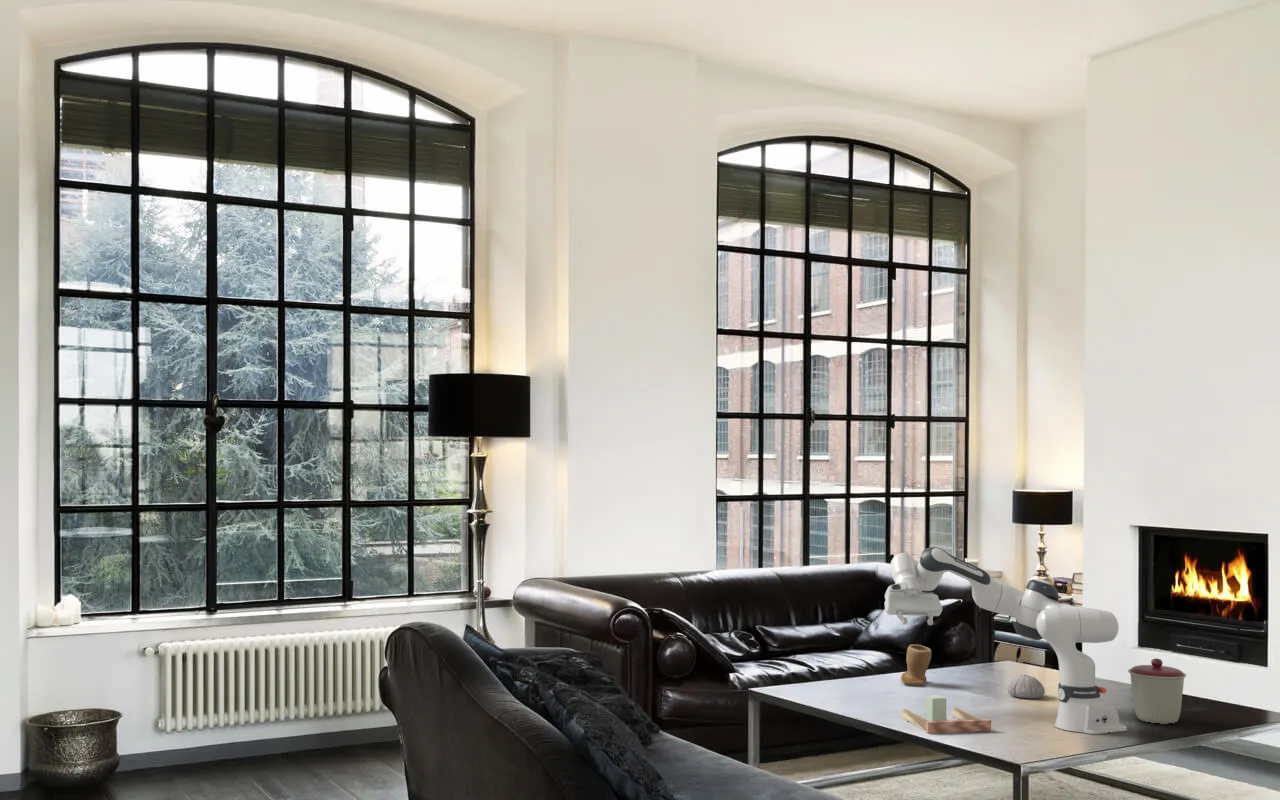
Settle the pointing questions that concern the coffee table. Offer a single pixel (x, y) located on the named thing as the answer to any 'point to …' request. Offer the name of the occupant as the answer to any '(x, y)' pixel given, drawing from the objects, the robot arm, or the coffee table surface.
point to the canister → (1157, 692)
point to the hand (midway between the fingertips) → (917, 623)
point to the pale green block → (935, 708)
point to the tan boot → (916, 664)
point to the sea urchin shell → (1025, 687)
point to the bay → (949, 722)
